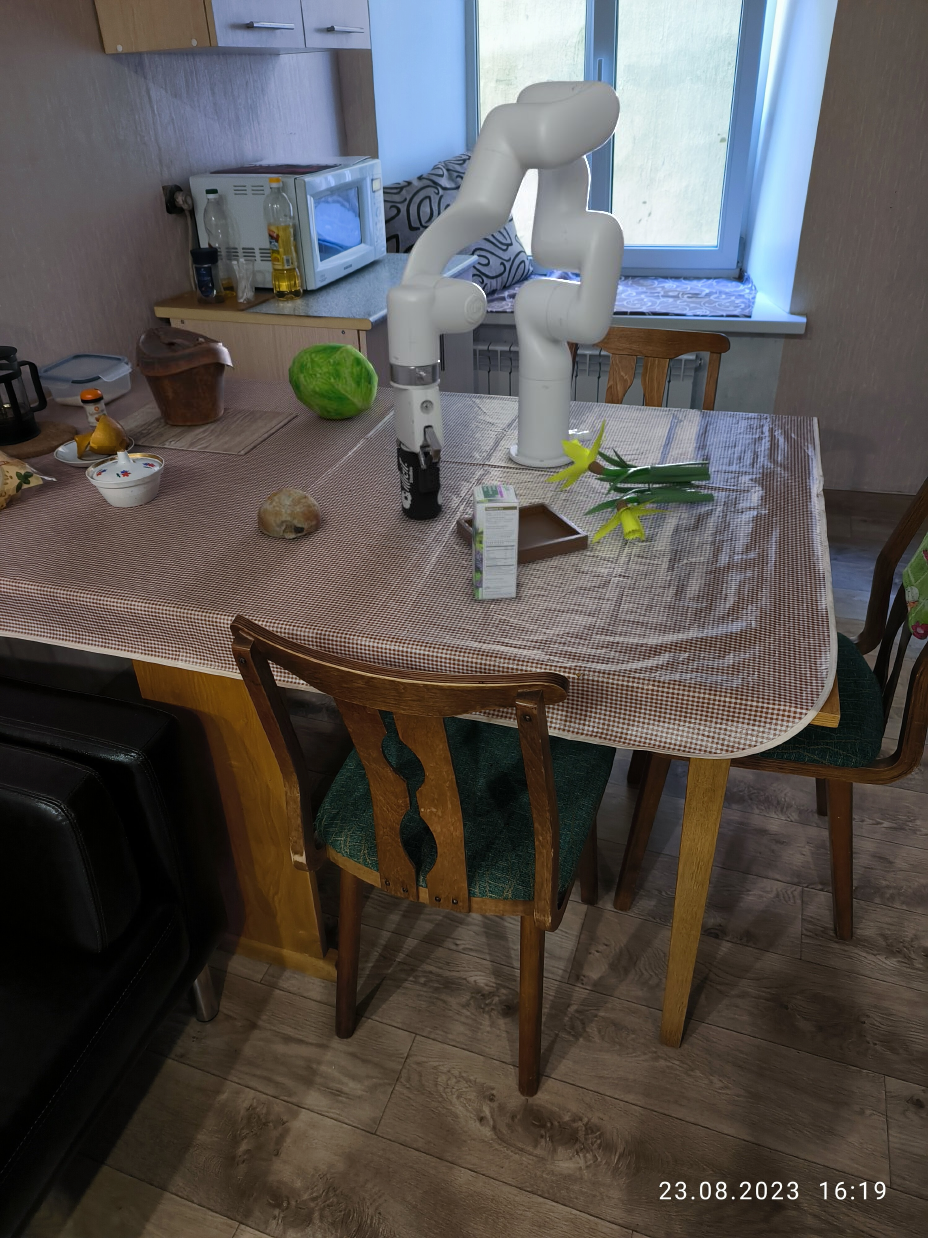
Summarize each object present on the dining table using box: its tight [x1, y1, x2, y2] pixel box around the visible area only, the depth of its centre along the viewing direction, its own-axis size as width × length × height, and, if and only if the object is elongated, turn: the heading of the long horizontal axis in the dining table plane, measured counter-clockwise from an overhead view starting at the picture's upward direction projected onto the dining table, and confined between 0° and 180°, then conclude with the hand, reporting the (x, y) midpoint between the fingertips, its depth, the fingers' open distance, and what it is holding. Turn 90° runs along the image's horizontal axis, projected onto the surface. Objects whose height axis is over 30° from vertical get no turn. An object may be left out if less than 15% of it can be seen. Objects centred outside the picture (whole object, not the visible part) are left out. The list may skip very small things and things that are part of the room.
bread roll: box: [256, 488, 323, 540], centre depth 137 cm, size 10×10×8 cm
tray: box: [456, 501, 589, 566], centre depth 132 cm, size 16×14×2 cm
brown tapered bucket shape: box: [134, 325, 236, 427], centre depth 181 cm, size 18×20×18 cm
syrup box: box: [471, 484, 520, 601], centre depth 116 cm, size 6×6×14 cm
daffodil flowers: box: [544, 419, 715, 544], centre depth 132 cm, size 17×15×35 cm
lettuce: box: [288, 342, 379, 420], centre depth 181 cm, size 17×20×17 cm
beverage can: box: [399, 443, 443, 521], centre depth 138 cm, size 7×7×12 cm
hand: (418, 480), depth 138 cm, fingers open, 9 cm apart
